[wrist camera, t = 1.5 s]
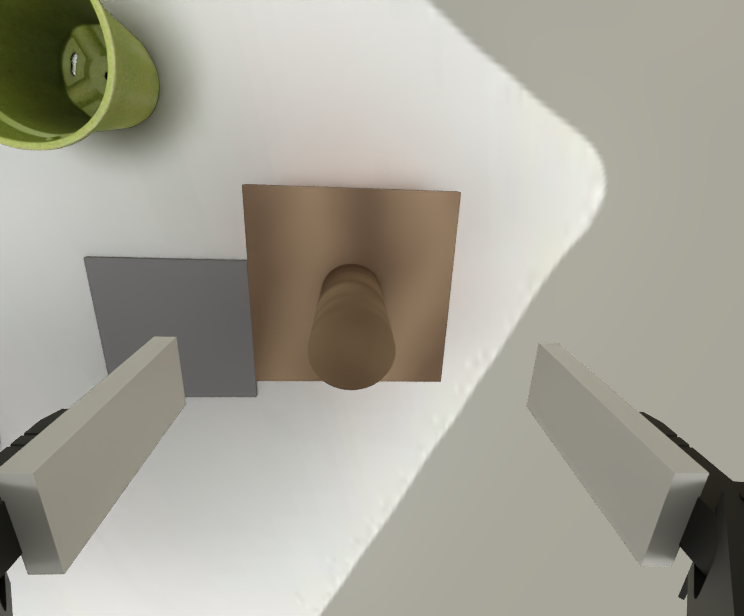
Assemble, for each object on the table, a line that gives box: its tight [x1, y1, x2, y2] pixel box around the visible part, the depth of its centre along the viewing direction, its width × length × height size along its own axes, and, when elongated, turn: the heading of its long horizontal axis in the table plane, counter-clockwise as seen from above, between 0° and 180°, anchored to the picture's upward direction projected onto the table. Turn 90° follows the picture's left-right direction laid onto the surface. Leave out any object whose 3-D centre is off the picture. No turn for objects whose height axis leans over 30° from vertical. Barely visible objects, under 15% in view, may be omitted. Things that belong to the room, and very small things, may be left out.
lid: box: [242, 184, 461, 390], centre depth 20 cm, size 12×12×9 cm
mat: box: [84, 257, 257, 397], centre depth 32 cm, size 12×12×1 cm
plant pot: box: [0, 0, 159, 150], centre depth 22 cm, size 9×9×9 cm
